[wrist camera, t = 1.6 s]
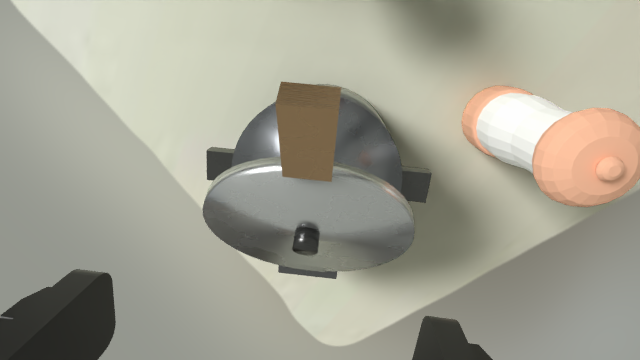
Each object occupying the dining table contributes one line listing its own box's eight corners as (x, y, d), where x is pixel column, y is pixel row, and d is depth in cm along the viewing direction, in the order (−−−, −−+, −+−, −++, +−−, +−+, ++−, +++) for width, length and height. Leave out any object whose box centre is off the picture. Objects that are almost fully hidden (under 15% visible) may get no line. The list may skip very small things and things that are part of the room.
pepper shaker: (472, 159, 42) (567, 239, 24) (453, 102, 40) (540, 141, 22) (536, 135, 41) (687, 199, 23) (519, 74, 39) (669, 92, 21)
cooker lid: (480, 100, 18) (489, 142, 16) (389, 269, 37) (390, 296, 35) (147, 68, 18) (125, 107, 17) (228, 251, 37) (221, 277, 36)
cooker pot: (424, 93, 40) (449, 106, 31) (398, 239, 46) (412, 287, 37) (233, 75, 41) (199, 82, 31) (232, 221, 47) (204, 264, 38)
